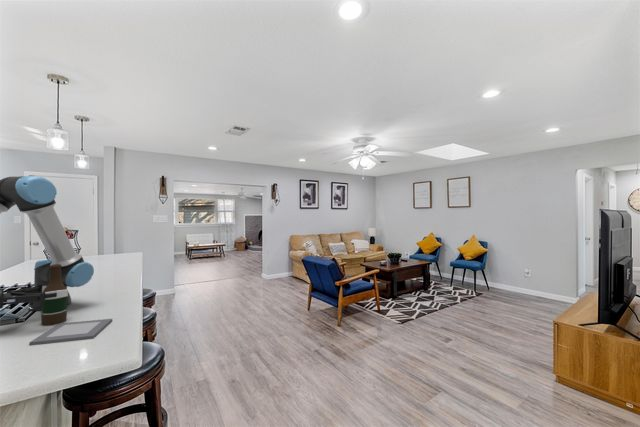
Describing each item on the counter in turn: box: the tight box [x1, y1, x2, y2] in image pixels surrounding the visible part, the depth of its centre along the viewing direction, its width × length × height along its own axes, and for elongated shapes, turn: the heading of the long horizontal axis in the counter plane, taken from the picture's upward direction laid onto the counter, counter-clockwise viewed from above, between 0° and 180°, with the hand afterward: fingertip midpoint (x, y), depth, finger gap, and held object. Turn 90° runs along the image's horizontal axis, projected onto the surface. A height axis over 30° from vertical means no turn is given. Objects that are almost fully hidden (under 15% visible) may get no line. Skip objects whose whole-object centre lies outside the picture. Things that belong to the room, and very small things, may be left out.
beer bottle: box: [40, 264, 68, 327], centre depth 115 cm, size 8×8×24 cm
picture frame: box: [28, 318, 113, 346], centre depth 106 cm, size 18×18×1 cm
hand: (65, 289), depth 117 cm, fingers open, 13 cm apart
